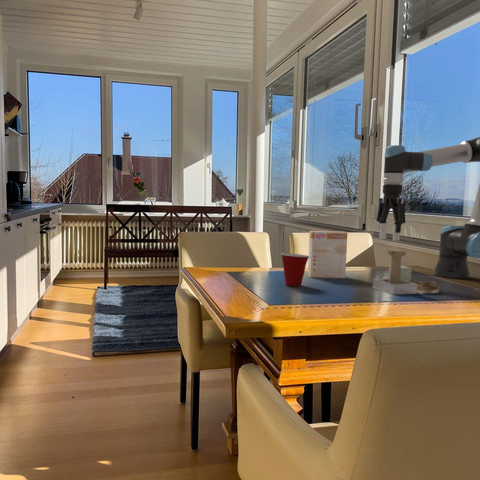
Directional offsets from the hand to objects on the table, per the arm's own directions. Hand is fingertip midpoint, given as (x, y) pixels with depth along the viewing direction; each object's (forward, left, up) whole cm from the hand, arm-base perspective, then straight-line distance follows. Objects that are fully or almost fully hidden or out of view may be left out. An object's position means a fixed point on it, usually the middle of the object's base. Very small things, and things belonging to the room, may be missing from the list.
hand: (389, 239), depth 185 cm
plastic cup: (+44, +3, -17) cm, 47 cm away
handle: (+11, +19, -17) cm, 28 cm away
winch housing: (+11, +19, -17) cm, 28 cm away
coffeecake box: (+21, -13, -17) cm, 30 cm away
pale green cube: (0, +8, -16) cm, 18 cm away
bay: (0, +14, -17) cm, 22 cm away
